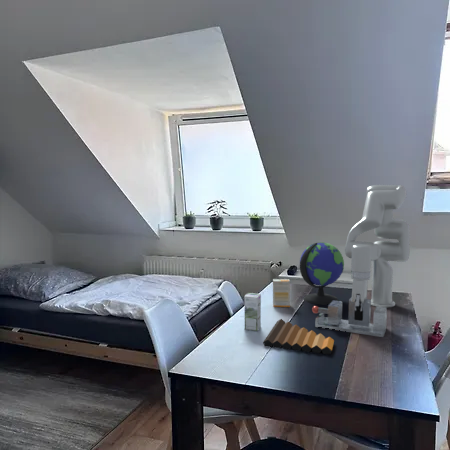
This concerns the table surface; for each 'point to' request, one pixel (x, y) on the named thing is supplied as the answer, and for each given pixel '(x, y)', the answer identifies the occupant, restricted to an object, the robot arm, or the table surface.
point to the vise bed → (373, 329)
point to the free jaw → (331, 312)
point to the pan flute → (297, 338)
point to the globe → (321, 270)
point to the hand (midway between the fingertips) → (359, 317)
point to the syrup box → (252, 311)
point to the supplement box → (281, 293)
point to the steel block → (366, 313)
